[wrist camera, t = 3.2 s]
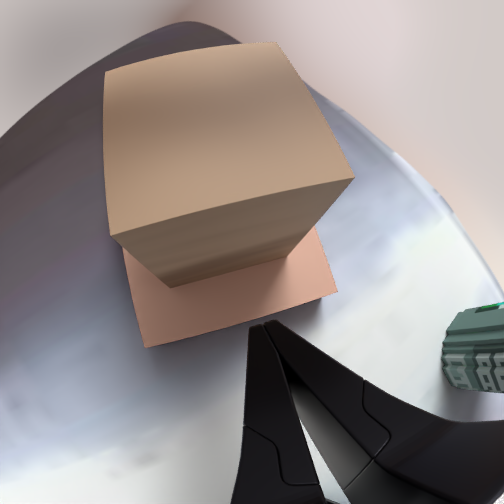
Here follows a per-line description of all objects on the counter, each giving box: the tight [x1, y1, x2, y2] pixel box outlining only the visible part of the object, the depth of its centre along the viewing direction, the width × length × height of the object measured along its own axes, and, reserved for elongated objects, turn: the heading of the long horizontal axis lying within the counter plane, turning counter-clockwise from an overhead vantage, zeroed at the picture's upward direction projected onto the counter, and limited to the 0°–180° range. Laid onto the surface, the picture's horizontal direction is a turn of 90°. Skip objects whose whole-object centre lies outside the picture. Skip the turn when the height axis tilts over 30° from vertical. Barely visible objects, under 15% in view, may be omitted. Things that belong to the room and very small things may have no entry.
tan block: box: [103, 42, 355, 288], centre depth 11 cm, size 6×6×8 cm
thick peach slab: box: [122, 225, 338, 348], centre depth 16 cm, size 10×10×2 cm
